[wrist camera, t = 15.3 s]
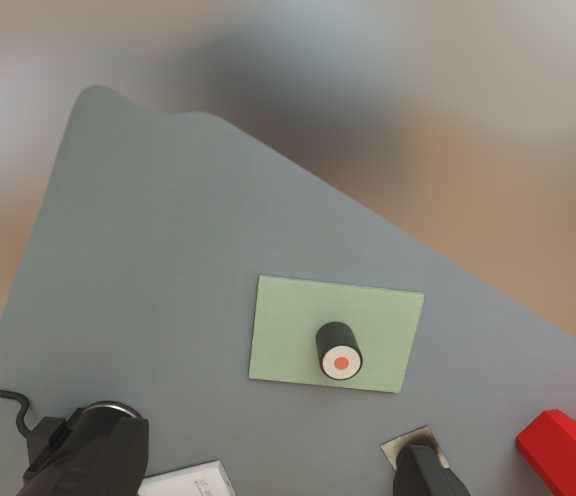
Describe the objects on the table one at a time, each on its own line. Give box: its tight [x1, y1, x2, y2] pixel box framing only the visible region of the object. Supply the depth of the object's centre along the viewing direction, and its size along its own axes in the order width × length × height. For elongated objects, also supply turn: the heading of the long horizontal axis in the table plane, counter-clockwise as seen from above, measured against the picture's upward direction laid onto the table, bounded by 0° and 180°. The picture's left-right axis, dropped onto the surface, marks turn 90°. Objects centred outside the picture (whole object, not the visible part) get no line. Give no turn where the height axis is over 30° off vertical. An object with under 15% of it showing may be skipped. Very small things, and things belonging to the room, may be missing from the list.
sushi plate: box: [249, 275, 425, 393], centre depth 40 cm, size 20×14×1 cm
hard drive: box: [137, 460, 236, 496], centre depth 47 cm, size 2×8×12 cm
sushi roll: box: [316, 321, 363, 381], centre depth 37 cm, size 5×5×5 cm
